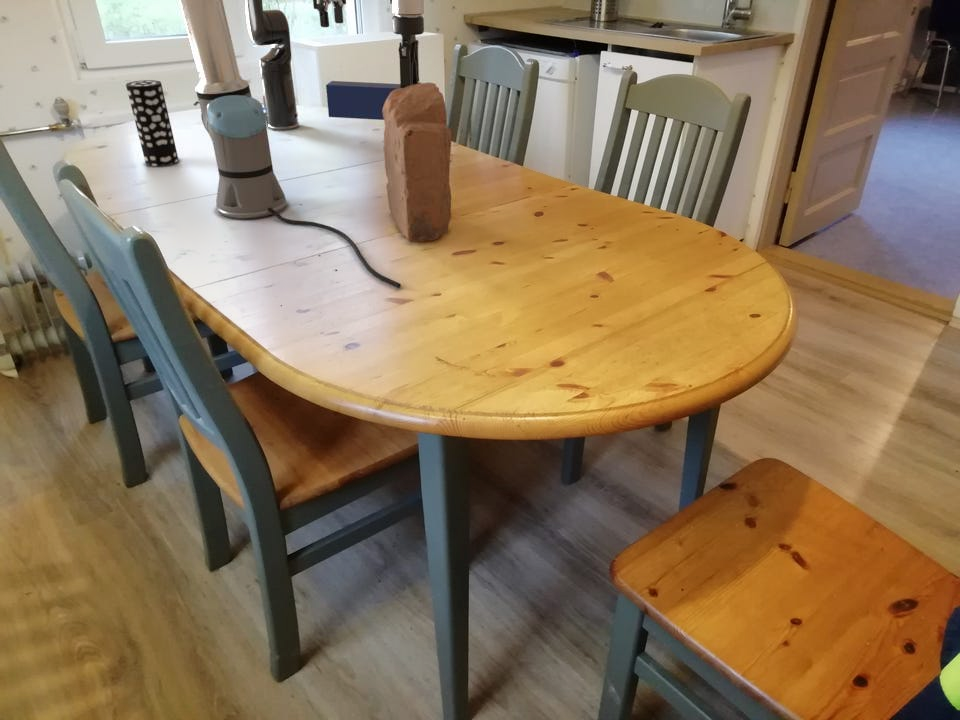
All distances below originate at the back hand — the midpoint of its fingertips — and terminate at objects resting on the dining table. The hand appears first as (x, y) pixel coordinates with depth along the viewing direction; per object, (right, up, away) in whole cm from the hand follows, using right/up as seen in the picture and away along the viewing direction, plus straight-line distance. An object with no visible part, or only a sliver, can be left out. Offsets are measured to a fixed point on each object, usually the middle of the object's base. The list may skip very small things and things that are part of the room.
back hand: (332, 25), depth 186 cm
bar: (+14, -28, -8) cm, 32 cm away
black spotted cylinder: (-46, -28, -5) cm, 54 cm away
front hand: (+22, -28, -9) cm, 37 cm away
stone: (+27, -61, -35) cm, 75 cm away
